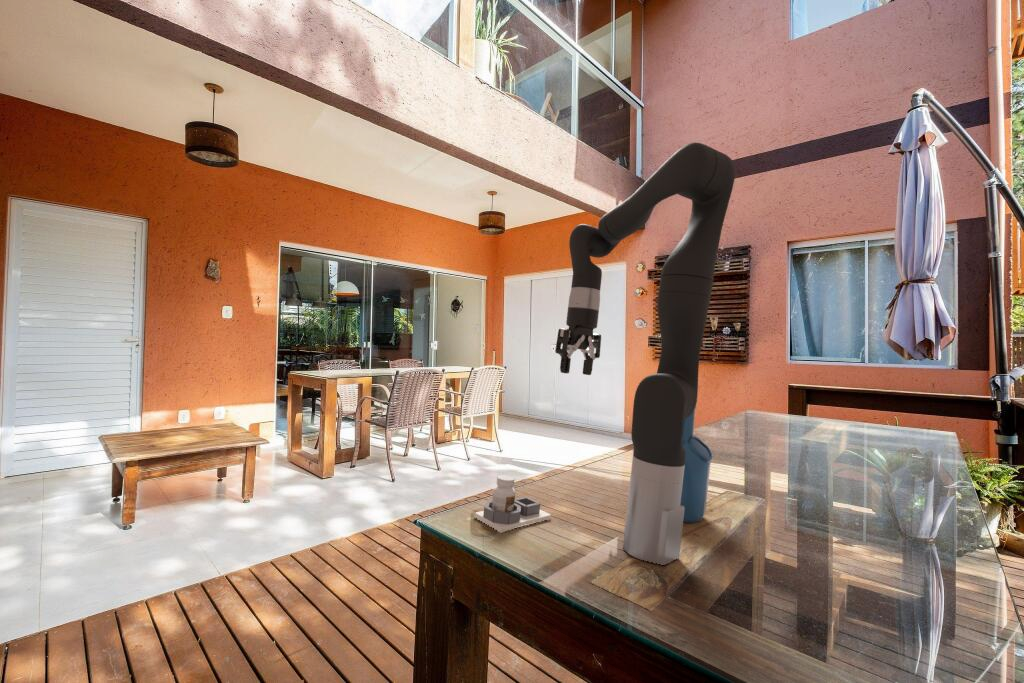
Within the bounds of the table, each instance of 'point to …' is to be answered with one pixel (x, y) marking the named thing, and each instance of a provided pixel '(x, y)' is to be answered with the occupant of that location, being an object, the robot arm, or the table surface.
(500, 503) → the pill bottle
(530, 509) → the socket board
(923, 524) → the table surface
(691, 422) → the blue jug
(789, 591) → the table surface
